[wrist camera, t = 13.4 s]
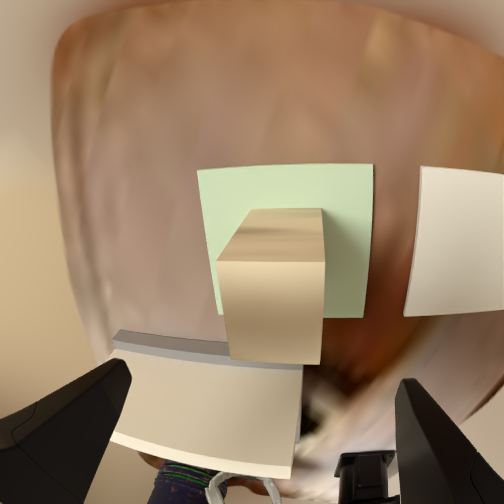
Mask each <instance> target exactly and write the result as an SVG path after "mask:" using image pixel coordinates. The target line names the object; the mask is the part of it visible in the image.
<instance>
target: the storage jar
mask: <svg viewBox="0 0 504 504" xmlns="http://www.w3.org/2000/svg"><path fill="white" fill-rule="evenodd" d="M220 472H221V471H218V470H213V469H208V468H203V467H198V466H194V465H189V464H185V463H181V462H177V461H173V460H169V459H166V461H165V462H164V463H163V465H162V467H160V469H159V472H158V476H157V478H155V482H154V485H155V487H154V489H153V491H152V494H151V496H150V498H149V501H148V503H147V504H209V503H208V500H207V497H206V493H205V488H209V484H210V481H211V480H212V478H213V477H215V476H216V475H217V474H218V473H220ZM229 480H230V478H229V479H225V481H223V482H222V483H219V485H218V486H217V488H218V489H219V490H220V492H221V495H222V498H223V500H224V498H225V496H226V493H227V487H228V481H229Z"/></svg>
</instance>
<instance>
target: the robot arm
mask: <svg viewBox="0 0 504 504" xmlns="http://www.w3.org/2000/svg"><path fill="white" fill-rule="evenodd" d="M131 383H132V375H131V372H130V370H129V368H128V366H127V364H126V362H125V361H124V360H123V359H119V358H112V359H110V360H109V361H107V362H105V363H103V364H102V365H100V366H98V367H96V368H95V369H93V370H91V371H90V372H88V373H86V374H85V375H83V376H81V377H79V378H77V379H76V380H74V381H72V382H70V383H69V384H67V385H65V386H63V387H62V388H60V389H58V390H56V391H54V392H53V393H51V394H49V395H47V396H46V397H44V398H42V399H40V400H39V401H36V402H35V403H33V404H31V405H29V406H28V407H25V408H24V409H22V410H20V411H17V412H15V413H13V414H11V415H9V416H6V417H4V418H2V419H0V504H84V501H85V498H86V496H87V493H88V491H89V488H90V486H91V483H92V481H93V478H94V476H95V474H96V471H97V469H98V466H99V464H100V462H101V459H102V457H103V455H104V452H105V450H106V448H107V445H108V443H109V441H110V438H111V436H112V434H113V432H114V429H115V427H116V425H117V423H118V420H119V418H120V415H121V413H122V410H123V407H124V404H125V401H126V398H127V395H128V392H129V389H130V386H131ZM395 421H396V451H397V460H398V470H399V480H400V491H401V492H400V493H401V504H504V480H503V479H502V478H501V477H500V476H499V475H498V474H497V473H496V472H495V471H494V470H493V469H492V467H490V465H489V464H488V463H487V462H486V460H485V459H484V458H483V457H482V456H481V454H480V453H479V452H477V450H476V449H475V447H474V446H473V445H472V444H471V442H470V441H469V440H468V439H467V438H466V436H465V435H464V434H463V433H462V432H461V431H460V429H459V428H458V427H457V426H456V425H455V423H454V422H453V421H452V420H451V419H450V417H449V416H448V415H447V414H446V413H445V412H444V410H443V409H442V408H441V407H440V406H439V405H438V404H437V402H436V401H435V400H434V399H433V398H432V397H431V395H430V394H429V393H428V392H427V391H426V390H425V389H424V388H423V386H422V385H421V384H420V383H419V382H418V381H417V380H416V379H415V378H406V379H402V380H401V382H400V385H399V388H398V391H397V394H396V397H395ZM394 456H395V451H387V452H375V453H357V454H342V455H341V456H340V458H339V461H338V464H337V467H336V470H335V473H334V477H337V478H338V477H340V484H339V501H338V504H400V495H395V496H394V497H388V477H387V467H388V466H389V464H390V463H391V461H392V459H393V458H394Z"/></svg>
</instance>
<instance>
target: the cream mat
mask: <svg viewBox="0 0 504 504" xmlns="http://www.w3.org/2000/svg"><path fill="white" fill-rule="evenodd" d="M495 310H504V174H498V173H491V172H483V171H474V170H465V169H455V168H444V167H431V166H420V185H419V202H418V215H417V226H416V236H415V244H414V252H413V259H412V266H411V273H410V279H409V285H408V291H407V296H406V301H405V306H404V311H403V314H404V317H406V316H428V315H445V314H460V313H472V312H484V311H495Z"/></svg>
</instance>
